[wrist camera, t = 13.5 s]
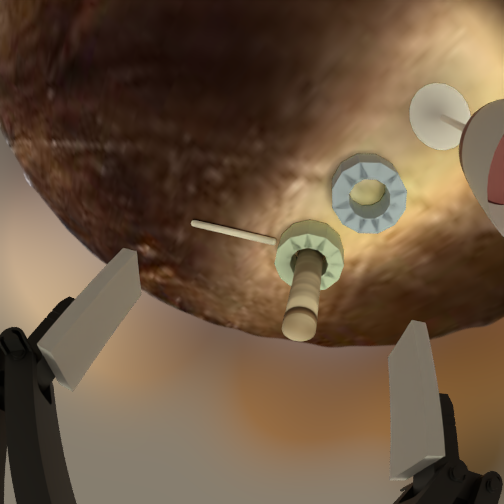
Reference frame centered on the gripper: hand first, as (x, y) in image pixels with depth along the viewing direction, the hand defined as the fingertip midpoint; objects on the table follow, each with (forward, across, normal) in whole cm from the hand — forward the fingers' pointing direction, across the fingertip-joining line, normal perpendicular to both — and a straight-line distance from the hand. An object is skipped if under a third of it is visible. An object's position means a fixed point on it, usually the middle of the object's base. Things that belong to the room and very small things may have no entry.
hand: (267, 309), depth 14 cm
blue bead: (+29, +8, -3) cm, 30 cm away
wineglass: (+29, +15, +9) cm, 34 cm away
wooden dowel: (+29, +3, -14) cm, 32 cm away
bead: (+29, +3, -14) cm, 32 cm away
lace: (+29, -8, -14) cm, 33 cm away
